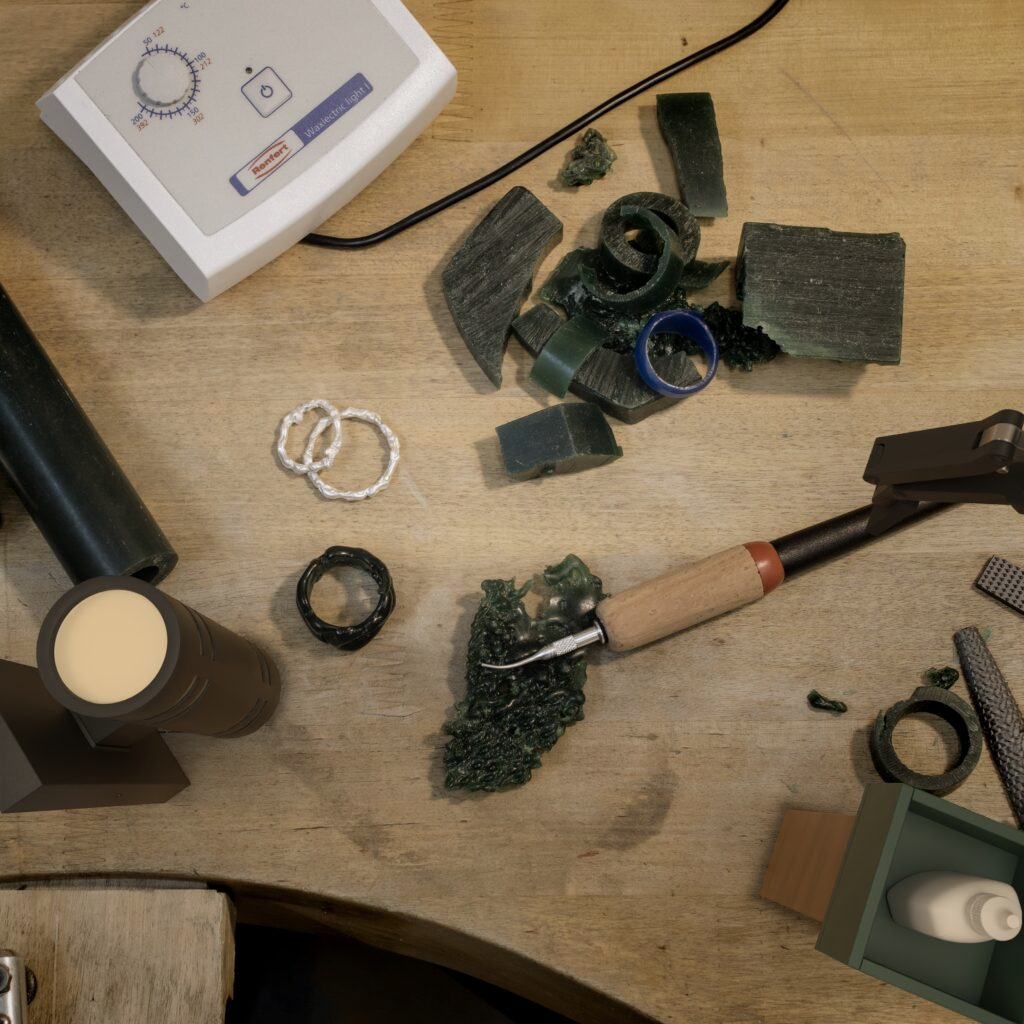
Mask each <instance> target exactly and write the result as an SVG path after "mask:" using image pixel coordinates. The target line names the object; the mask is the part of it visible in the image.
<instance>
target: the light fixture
mask: <svg viewBox="0 0 1024 1024" xmlns="http://www.w3.org/2000/svg"><path fill="white" fill-rule="evenodd" d="M35 658H36V666H37V667H36V666H32V665H28V664H24V663H20V662H17V661H16V662H15V661H12V660H9V659H8V660H7V659H4V658H0V813H1V814H2V815H4V814H5V815H6V814H20V813H21V814H22V813H35V812H49V811H65V810H80V809H83V810H84V809H97V808H113V807H127V806H129V807H130V806H141V805H142V806H143V805H156V804H157V805H159V804H166V803H167V802H168V801H170V800H171V799H172V798H174V797H175V796H177V795H178V794H180V793H182V792H183V791H185V789H187V788H188V787H190V786H191V785H192V783H191V781H190V779H189V778H188V776H187V775H186V772H185V771H184V769H183V768H182V767H181V765H180V763H179V761H178V760H177V759H176V757H175V755H174V753H173V752H172V750H171V749H170V747H169V745H168V744H167V742H166V740H165V739H164V738H163V736H162V734H161V733H160V731H159V729H163V730H164V729H165V730H169V731H175V732H181V733H187V734H194V735H199V736H200V735H201V736H206V737H212V738H217V739H226V740H228V739H229V740H231V739H239V738H244V737H246V736H249V735H251V734H253V733H255V732H256V731H258V730H260V729H261V728H262V727H263V726H264V725H265V724H266V723H267V722H268V721H269V720H270V719H271V717H272V716H273V715H274V714H275V711H276V709H277V707H278V706H279V702H280V698H281V693H282V680H281V674H280V671H279V668H278V666H277V664H276V662H275V661H274V660H273V658H272V657H271V656H270V654H269V653H268V652H267V651H265V650H264V649H263V648H262V647H260V646H258V645H256V644H255V643H253V642H251V641H250V640H248V639H246V638H244V637H243V636H241V635H239V634H237V633H235V632H234V631H232V630H231V629H229V628H227V627H225V626H224V625H222V624H221V623H218V622H217V621H215V620H213V619H212V618H209V617H208V616H206V615H205V614H203V613H201V612H199V611H198V610H196V609H194V608H192V607H191V606H189V605H187V604H185V603H184V602H182V601H180V600H179V599H177V598H175V597H173V596H171V595H170V594H168V593H167V592H165V591H162V589H159V588H157V587H156V586H155V585H153V584H151V583H149V582H147V581H145V580H143V579H141V578H139V577H134V576H131V575H125V574H106V575H101V576H100V575H98V576H95V577H92V578H89V579H87V580H84V581H82V582H79V583H78V584H76V585H74V586H73V587H71V588H70V589H68V590H67V591H66V592H65V593H63V594H62V595H61V596H60V597H59V598H58V599H57V600H56V601H55V602H54V604H53V605H52V606H51V607H50V609H49V610H48V612H47V613H46V615H45V617H44V619H43V621H42V624H41V626H40V628H39V632H38V634H37V639H36V647H35Z"/></svg>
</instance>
